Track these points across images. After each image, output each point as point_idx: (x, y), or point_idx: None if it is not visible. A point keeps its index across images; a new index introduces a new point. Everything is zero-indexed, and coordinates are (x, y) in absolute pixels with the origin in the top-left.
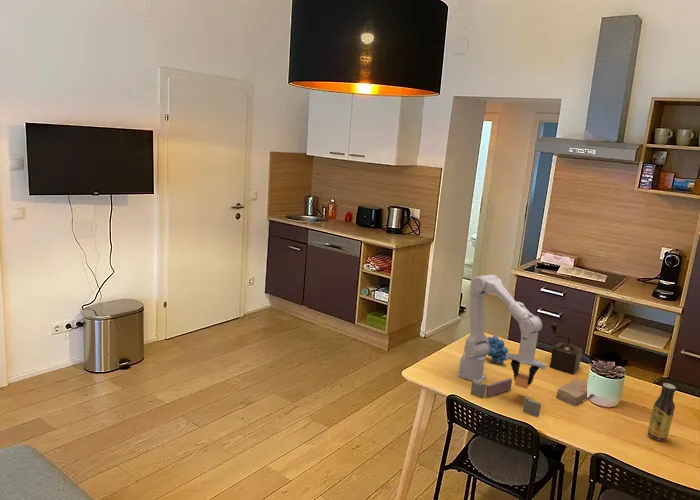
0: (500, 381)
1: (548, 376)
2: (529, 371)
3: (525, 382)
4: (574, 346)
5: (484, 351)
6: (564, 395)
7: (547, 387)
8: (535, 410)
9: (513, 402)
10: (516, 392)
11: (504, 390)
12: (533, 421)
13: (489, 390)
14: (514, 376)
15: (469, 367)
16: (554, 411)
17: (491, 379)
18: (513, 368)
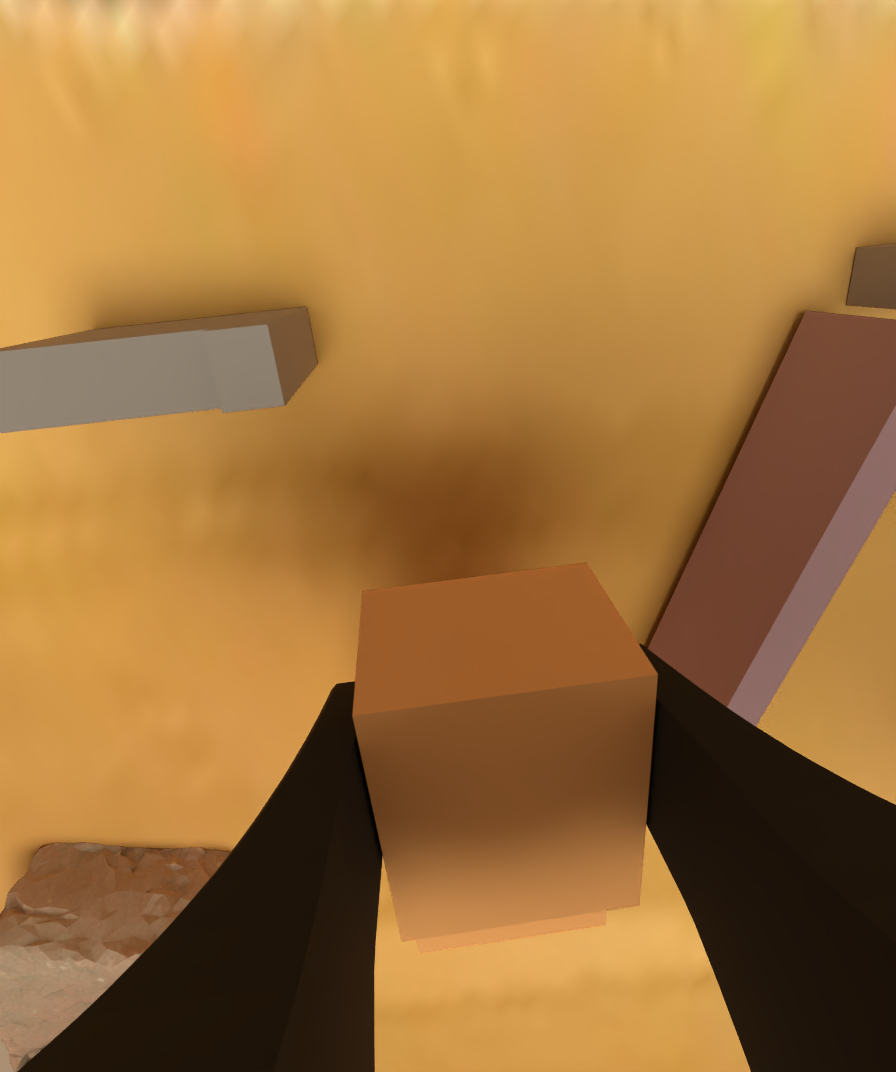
0: (804, 624)
1: (463, 1057)
2: (291, 992)
3: (398, 659)
4: None
5: None
6: (131, 909)
7: (387, 940)
8: (104, 333)
9: (500, 459)
10: None
11: (677, 607)
12: (44, 131)
13: (871, 332)
14: (685, 681)
15: None
16: (73, 619)
17: (846, 735)
18: (894, 831)
